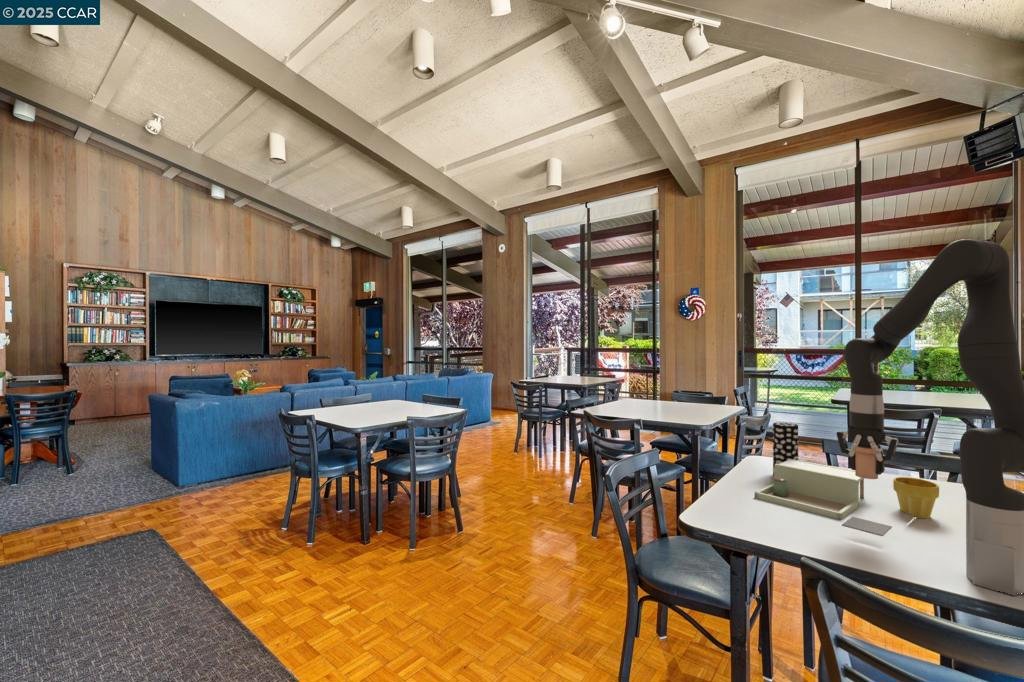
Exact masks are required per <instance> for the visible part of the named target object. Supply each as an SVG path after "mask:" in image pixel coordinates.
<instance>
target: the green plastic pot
mask: <svg viewBox="0 0 1024 682" xmlns="http://www.w3.org/2000/svg"><path fill="white" fill-rule="evenodd" d="M772 484H773V494H774V495H775V496H778V497H788V496H789V491H788V480H787V479H786V478H781V477H775V478H774V477H772Z"/></svg>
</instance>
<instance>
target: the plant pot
mask: <svg viewBox="0 0 1024 682" xmlns="http://www.w3.org/2000/svg"><path fill="white" fill-rule="evenodd" d="M892 481H893V483H892V484H893V486H892V487H893V491H894V492H895V493H896V496H897V497H896V498H897V501H898V506H899V511H901V512H904V513H906V514H909V515H913V518H915V517H917V518H918V519H923V518H926V519H929V517H930V518H931V516H932V512H933V509H934V505H935V503H936V500H937V499H938V498H939V497H940V486H939V484H938V483H936V482H933V481H930V480H927V479H923V478H916V477H908V476H907V477H906V476H897V477H894V478H893V480H892ZM917 518H916V519H917Z"/></svg>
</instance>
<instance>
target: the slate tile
mask: <svg viewBox="0 0 1024 682" xmlns="http://www.w3.org/2000/svg"><path fill="white" fill-rule="evenodd" d="M841 526H843V527H847V528H851V529H854V530H858V531H861V532H866V533H869V534H872V535H873V534H874V535H877V536H881V537H883V536H884V535H885V534H886V533H887V532H888V531H889V530H891V529H892V527H893V526H891V525H888V524H883V523H879V522H875V521H873V520H872V521H871V520H867V519H864V518H859V517H855V516H851V517H850V518H848V519H847V520H846V521H844V523H842V524H841Z"/></svg>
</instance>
